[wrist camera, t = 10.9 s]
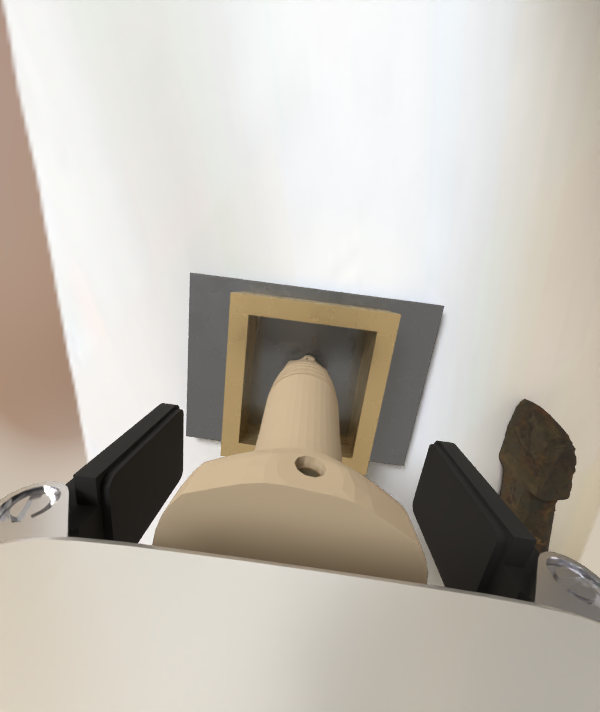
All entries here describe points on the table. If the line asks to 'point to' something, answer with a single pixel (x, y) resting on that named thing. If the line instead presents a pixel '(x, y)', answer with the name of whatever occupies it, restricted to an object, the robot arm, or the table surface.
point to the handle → (295, 494)
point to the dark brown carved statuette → (536, 469)
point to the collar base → (292, 342)
